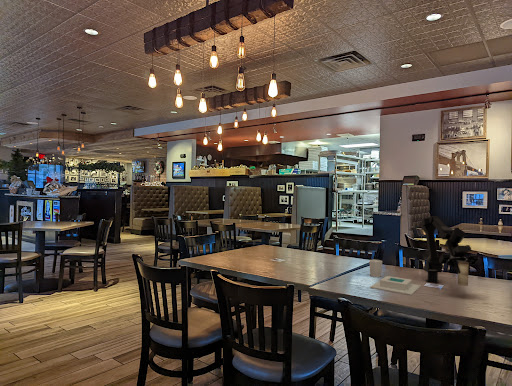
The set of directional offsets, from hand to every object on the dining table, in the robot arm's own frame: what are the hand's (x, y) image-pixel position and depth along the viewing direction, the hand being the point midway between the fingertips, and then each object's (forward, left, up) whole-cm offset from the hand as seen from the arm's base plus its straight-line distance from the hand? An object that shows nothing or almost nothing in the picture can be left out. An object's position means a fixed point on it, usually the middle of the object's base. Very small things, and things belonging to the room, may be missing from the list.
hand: (464, 272), depth 183 cm
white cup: (-19, -52, -13) cm, 57 cm away
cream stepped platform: (+1, -34, -13) cm, 36 cm away
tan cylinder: (-1, -1, -7) cm, 7 cm away
